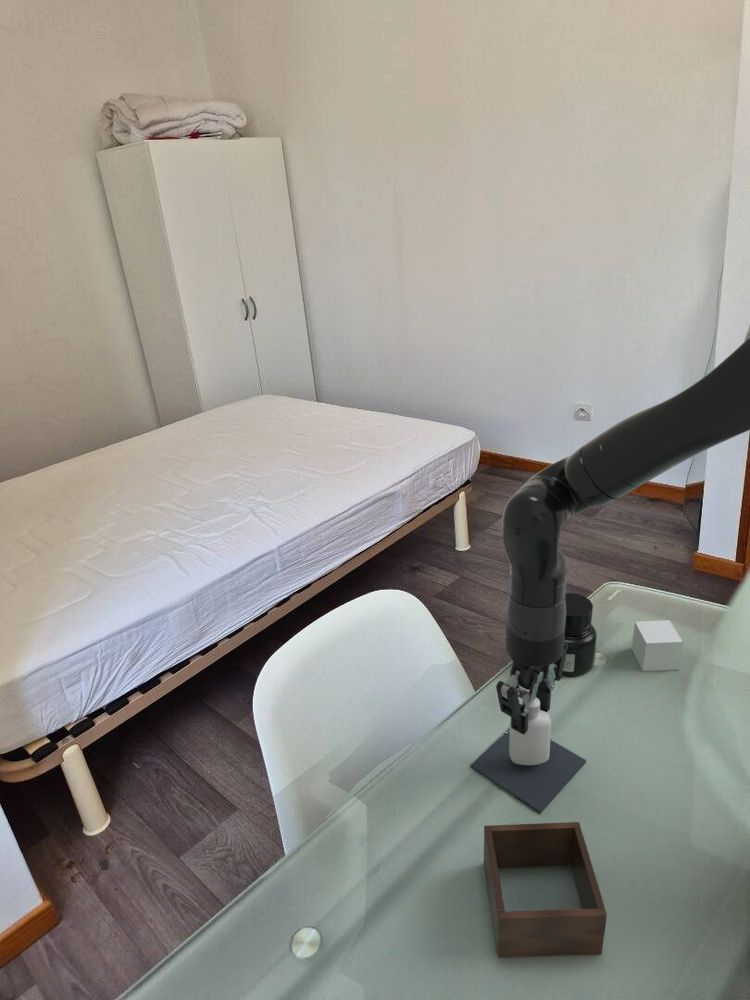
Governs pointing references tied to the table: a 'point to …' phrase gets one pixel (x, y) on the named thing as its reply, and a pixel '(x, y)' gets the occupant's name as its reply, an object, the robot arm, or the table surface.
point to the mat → (529, 772)
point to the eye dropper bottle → (531, 738)
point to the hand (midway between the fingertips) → (530, 718)
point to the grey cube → (656, 645)
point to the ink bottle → (579, 635)
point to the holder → (544, 927)
